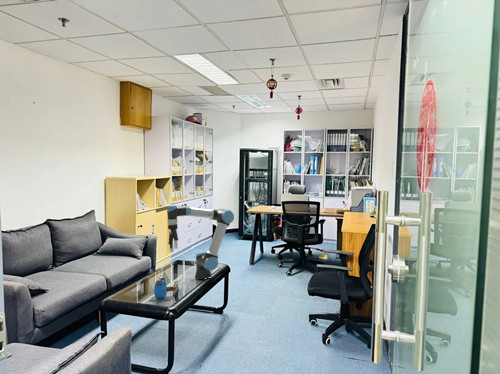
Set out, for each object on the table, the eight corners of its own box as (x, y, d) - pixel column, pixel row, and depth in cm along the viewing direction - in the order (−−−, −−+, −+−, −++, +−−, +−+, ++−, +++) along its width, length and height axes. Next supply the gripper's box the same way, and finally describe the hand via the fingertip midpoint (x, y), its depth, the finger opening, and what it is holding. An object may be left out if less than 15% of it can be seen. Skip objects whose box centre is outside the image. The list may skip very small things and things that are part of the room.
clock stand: (178, 289, 270) (178, 286, 270) (174, 296, 255) (173, 293, 255) (166, 289, 270) (166, 286, 270) (161, 296, 255) (160, 293, 255)
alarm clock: (159, 295, 257) (158, 275, 256) (167, 294, 257) (166, 275, 256) (154, 301, 244) (153, 281, 243) (162, 301, 243) (161, 280, 243)
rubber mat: (173, 296, 254) (173, 295, 254) (170, 300, 246) (170, 299, 246) (152, 297, 254) (152, 296, 254) (148, 301, 246) (148, 300, 246)
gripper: (173, 226, 258) (174, 253, 258) (180, 222, 283) (182, 246, 283) (163, 226, 258) (165, 253, 259) (172, 222, 283) (173, 247, 284)
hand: (173, 250), depth 271 cm, fingers open, 13 cm apart
